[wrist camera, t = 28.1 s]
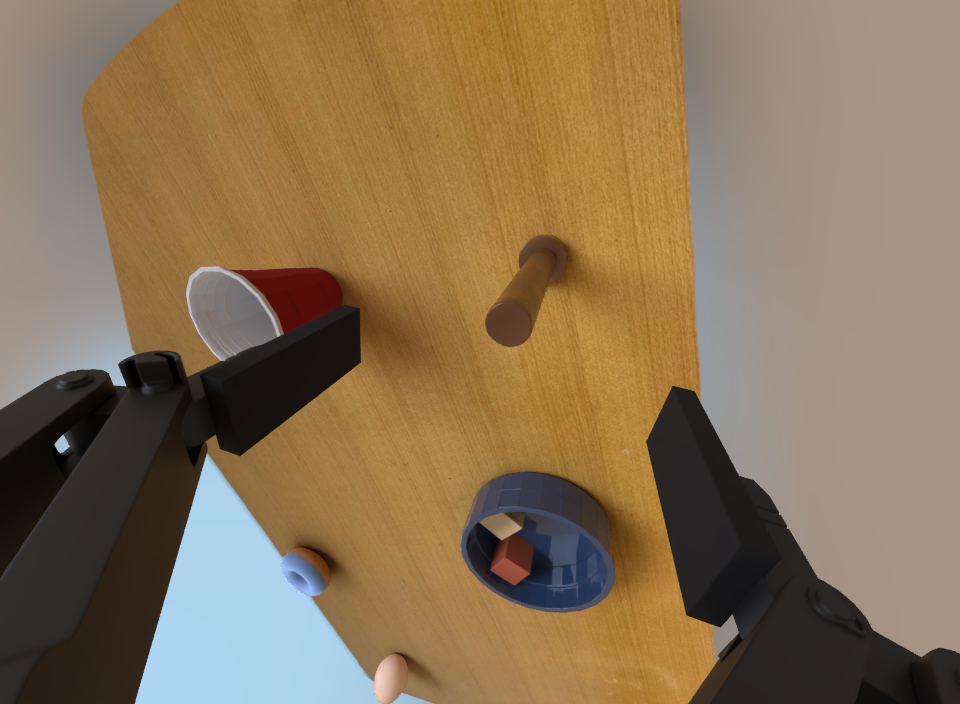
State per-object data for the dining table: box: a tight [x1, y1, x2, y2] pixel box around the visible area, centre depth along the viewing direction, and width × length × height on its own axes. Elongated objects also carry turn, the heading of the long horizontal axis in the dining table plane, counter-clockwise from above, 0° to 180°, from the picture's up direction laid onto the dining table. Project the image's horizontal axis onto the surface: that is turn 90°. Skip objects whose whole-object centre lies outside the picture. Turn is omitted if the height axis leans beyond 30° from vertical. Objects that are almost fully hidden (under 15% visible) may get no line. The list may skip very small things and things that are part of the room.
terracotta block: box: [490, 534, 534, 586], centre depth 48 cm, size 4×4×4 cm
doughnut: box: [281, 547, 331, 596], centre depth 66 cm, size 10×10×5 cm
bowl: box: [460, 472, 615, 613], centre depth 45 cm, size 19×19×6 cm
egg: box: [374, 654, 408, 704], centre depth 72 cm, size 7×7×8 cm
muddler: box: [485, 235, 568, 347], centre depth 25 cm, size 4×4×18 cm
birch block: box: [480, 512, 525, 540], centre depth 45 cm, size 4×4×4 cm
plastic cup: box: [186, 267, 342, 361], centre depth 36 cm, size 11×11×12 cm
